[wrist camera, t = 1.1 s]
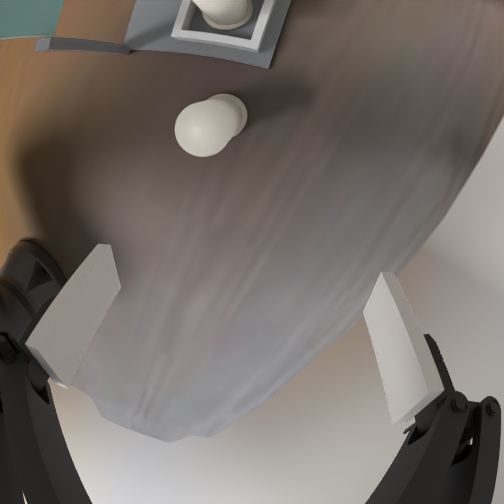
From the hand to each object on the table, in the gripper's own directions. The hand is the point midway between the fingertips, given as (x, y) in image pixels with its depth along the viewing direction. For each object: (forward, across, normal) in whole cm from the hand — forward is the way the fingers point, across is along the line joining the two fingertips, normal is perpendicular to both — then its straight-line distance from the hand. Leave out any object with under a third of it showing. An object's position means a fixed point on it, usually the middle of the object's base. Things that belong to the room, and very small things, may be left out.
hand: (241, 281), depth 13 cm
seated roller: (+18, -4, +17) cm, 25 cm away
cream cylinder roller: (+19, -4, +5) cm, 20 cm away
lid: (-1, -15, +24) cm, 28 cm away
